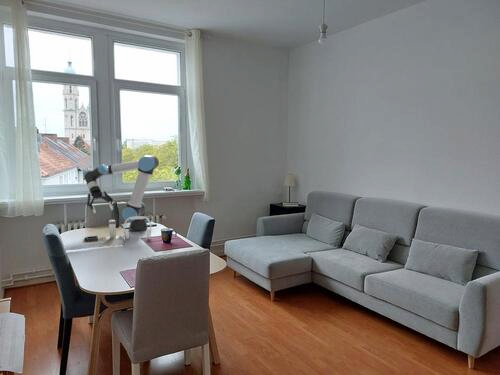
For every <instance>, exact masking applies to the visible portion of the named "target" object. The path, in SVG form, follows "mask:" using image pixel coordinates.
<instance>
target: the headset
mask: <svg viewBox="0 0 500 375" xmlns="http://www.w3.org/2000/svg"><path fill="white" fill-rule="evenodd" d="M144 218H145V220H146V221H147V222H148V224H149V227H148V228H147V230H146V238H150V239H149V240H151V238H152V222H151V221H150V219H149V218H148V217H146V216H145V217H144V216H134V217H129V218H128V219H127V220H129V219H131V220H134V219H144ZM127 220H125V221H124V224H123V227H122V228H123V234H124V235H123V236H124V240H126V239H127V240H128V239H129V238H130V232H129V228H126V224H127V223H128V221H127Z"/></svg>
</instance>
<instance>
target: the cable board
mask: <svg viewBox="0 0 500 375" xmlns="http://www.w3.org/2000/svg"><path fill="white" fill-rule="evenodd" d="M120 239H123V238H122V236H121V235H116V238H110V236H104V237H102V236H101V237H99V236H98V235H90V236H85V237H84V239H83V240H82V241H83V243H93V242H94V243H95V242H102V241H111V240H120Z"/></svg>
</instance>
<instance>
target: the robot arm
mask: <svg viewBox="0 0 500 375" xmlns="http://www.w3.org/2000/svg"><path fill="white" fill-rule="evenodd" d="M159 165H160V164H159V159H158V157H156V156H155V155H143V156H142V157H140V158H139V160H133V161H126V162H120V163H115V164H110V165H109V164H108V165H106V164H103V163H102V164H101V165H98V166H97V167H96V168H94V169H87V170H85V171H83V173H82V176H83V178H84V181H85V183H86V185H87V187H88V188H87V189H88V190H89V193H88V194H87V201H86V207H89V208H90V210H92V213H93V214H96V213H97V211H96V208H95V205H94V204H93V203H94V201H95V200H98V199H101V200H104V201H106V202H107V203H108V205H109V208H110V210H111V211H113V210H114V207H113V206H114V205H113V201H114V198H112V197H111V195H109V194H108V193H107V192H106V191H101V188H100V185H99V184H98V181H97V180H98V179H100V178H101V177H103V176H109V175H111V176H112V175H115V174H121V173H125V172H126V173H129V172H132V171H137V172H138V175H137V177H136V181H135V184H134V187H133V191H132V193H131V196H130V199H129V201H127V203H126V205H125V207H124V208H123V210H122V213H121V216H122V218H123V219H124V220H125V221H126V220H127V219H128V218H129V217H134V216H144V217H146V205H145V203H144V202H143V198H144V195H145V192H146V188H147V186H148V182H149V179H150V176H153V174H154V171H155V170H156V169H157V168H158V167H159ZM91 197H92V199H91ZM127 222H130V223H129V226H128V230H129V231H130V232H143V231H147V228H148V226H149V225H148V224H147V219H146V218H144V219H134V220H131V219H129V220H127Z"/></svg>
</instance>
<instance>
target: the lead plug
mask: <svg viewBox="0 0 500 375" xmlns="http://www.w3.org/2000/svg"><path fill="white" fill-rule="evenodd" d="M116 225H117V224H116V220H115V219H109V220H108V228H109V230H108V231H109V237H110V238H116V236H117V229H116V228H117V227H116Z"/></svg>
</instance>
